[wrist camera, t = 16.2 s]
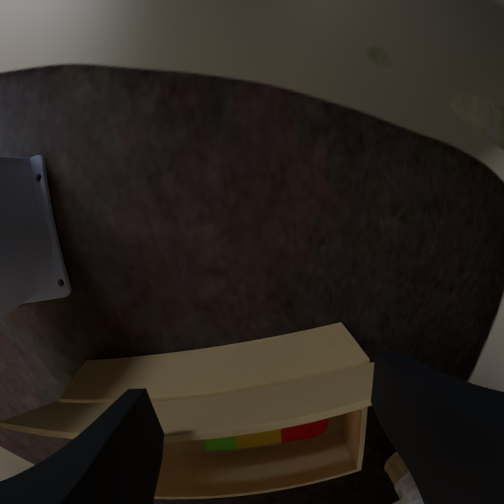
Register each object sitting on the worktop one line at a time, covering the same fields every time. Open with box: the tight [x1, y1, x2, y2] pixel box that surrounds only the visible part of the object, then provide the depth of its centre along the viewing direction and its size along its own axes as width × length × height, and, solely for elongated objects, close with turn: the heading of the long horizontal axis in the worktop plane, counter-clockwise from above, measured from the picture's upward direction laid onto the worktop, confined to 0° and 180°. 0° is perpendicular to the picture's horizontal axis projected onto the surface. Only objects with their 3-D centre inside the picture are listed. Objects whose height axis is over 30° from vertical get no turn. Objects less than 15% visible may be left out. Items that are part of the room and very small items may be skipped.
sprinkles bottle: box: [384, 452, 424, 504], centre depth 18 cm, size 5×5×14 cm
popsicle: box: [202, 418, 329, 451], centre depth 19 cm, size 6×15×2 cm, turn 96°
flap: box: [0, 362, 374, 442], centre depth 12 cm, size 5×18×1 cm
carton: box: [59, 322, 370, 499], centre depth 18 cm, size 11×18×5 cm, turn 100°
